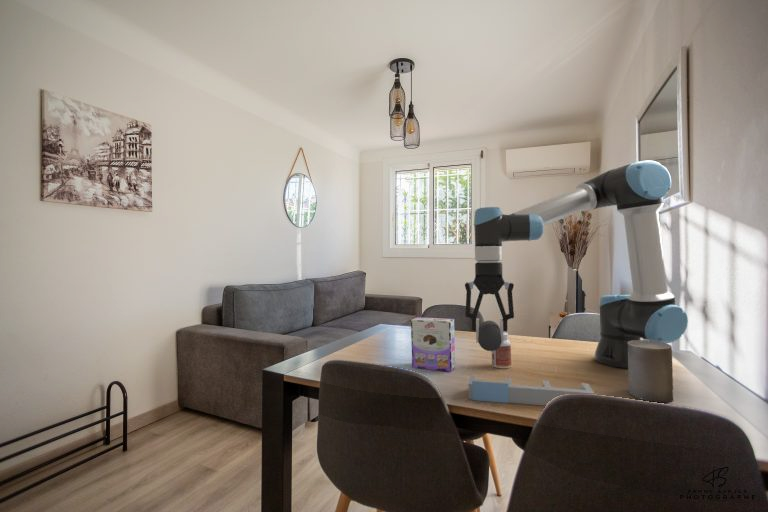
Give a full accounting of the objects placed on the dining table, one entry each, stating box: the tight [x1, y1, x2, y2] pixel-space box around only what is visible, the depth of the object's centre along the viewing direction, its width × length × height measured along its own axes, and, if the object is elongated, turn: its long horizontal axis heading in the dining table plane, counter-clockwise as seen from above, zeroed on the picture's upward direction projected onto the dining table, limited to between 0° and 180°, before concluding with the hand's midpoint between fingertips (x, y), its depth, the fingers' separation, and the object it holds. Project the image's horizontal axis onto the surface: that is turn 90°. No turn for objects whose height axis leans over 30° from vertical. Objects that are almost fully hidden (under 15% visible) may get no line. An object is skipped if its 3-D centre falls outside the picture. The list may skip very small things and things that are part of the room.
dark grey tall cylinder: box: [478, 320, 502, 352], centre depth 106 cm, size 12×6×6 cm, turn 165°
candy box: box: [410, 316, 456, 372], centre depth 128 cm, size 14×6×16 cm, turn 65°
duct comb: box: [468, 375, 596, 406], centre depth 99 cm, size 30×7×5 cm, turn 74°
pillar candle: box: [627, 339, 674, 403], centre depth 100 cm, size 10×10×15 cm
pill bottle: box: [491, 331, 512, 370], centre depth 127 cm, size 6×6×11 cm
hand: (489, 341), depth 109 cm, fingers closed on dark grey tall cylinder, 6 cm apart
